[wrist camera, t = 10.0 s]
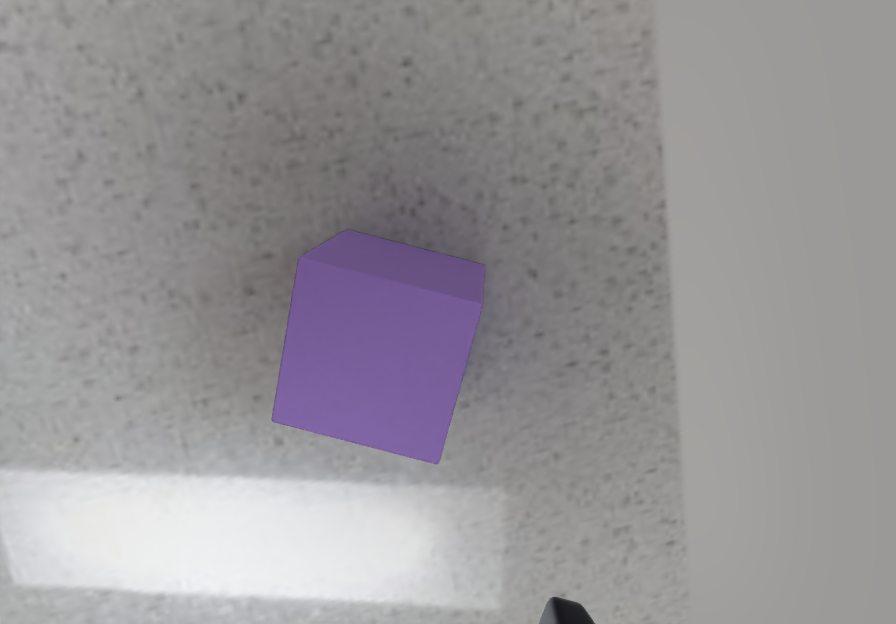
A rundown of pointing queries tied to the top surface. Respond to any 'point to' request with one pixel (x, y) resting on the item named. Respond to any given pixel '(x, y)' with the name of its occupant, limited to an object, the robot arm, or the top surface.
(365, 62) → the top surface
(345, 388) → the block
